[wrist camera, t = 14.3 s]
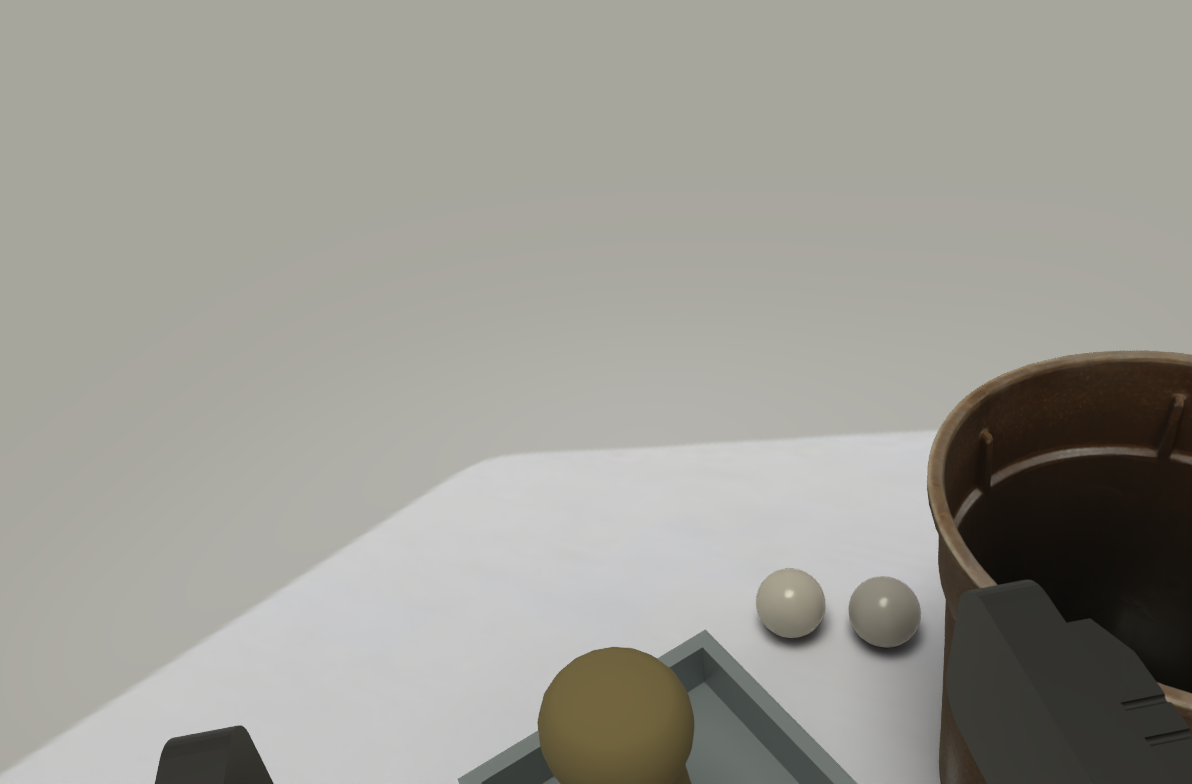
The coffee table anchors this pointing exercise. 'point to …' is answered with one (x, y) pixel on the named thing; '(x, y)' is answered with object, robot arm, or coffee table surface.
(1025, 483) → the plant pot
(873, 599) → the pebble
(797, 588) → the pebble
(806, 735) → the slate dish
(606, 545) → the coffee table surface
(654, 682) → the cork
